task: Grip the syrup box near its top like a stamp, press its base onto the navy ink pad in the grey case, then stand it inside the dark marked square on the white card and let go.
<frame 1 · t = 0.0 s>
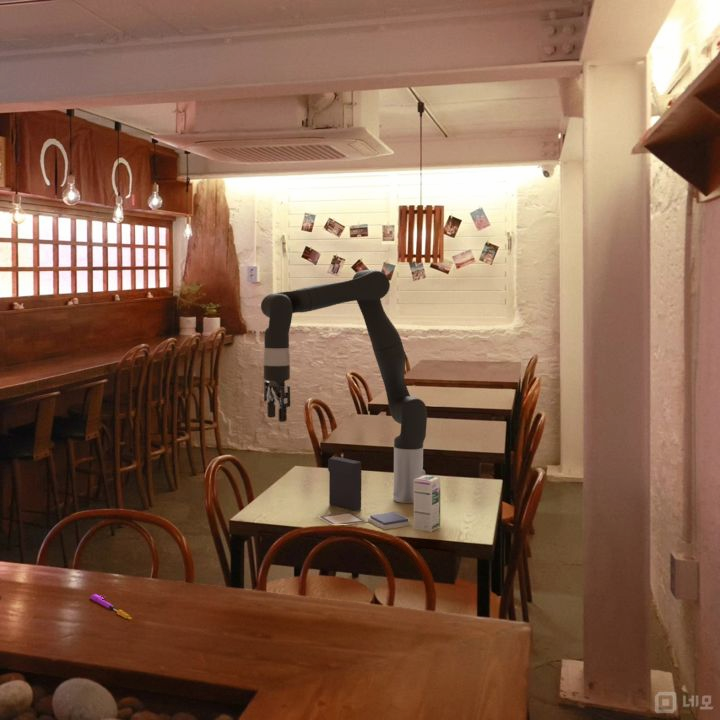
hand: (276, 419, 228), 29 cm above the table, tool pointing down, fingers open, 8 cm apart
ink pad: (389, 523, 226), on the table
syrup box: (426, 528, 222), on the table
marked card: (342, 519, 229), on the table
purple and yellow stick: (114, 610, 165), on the table
dark grey upright block: (345, 508, 242), on the table
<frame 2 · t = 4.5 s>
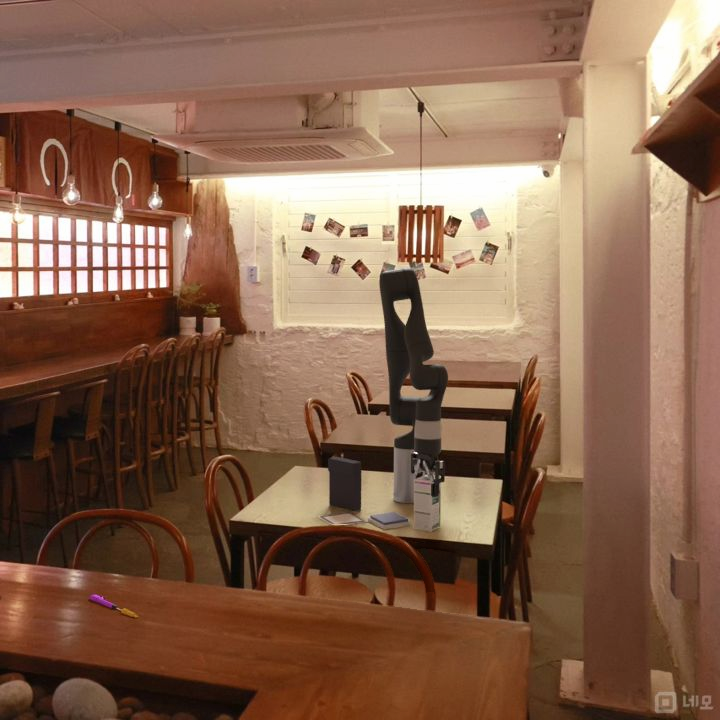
hand: (426, 493, 221), 10 cm above the table, tool pointing down, fingers closed on syrup box, 7 cm apart
syrup box: (426, 528, 222), on the table, touching gripper
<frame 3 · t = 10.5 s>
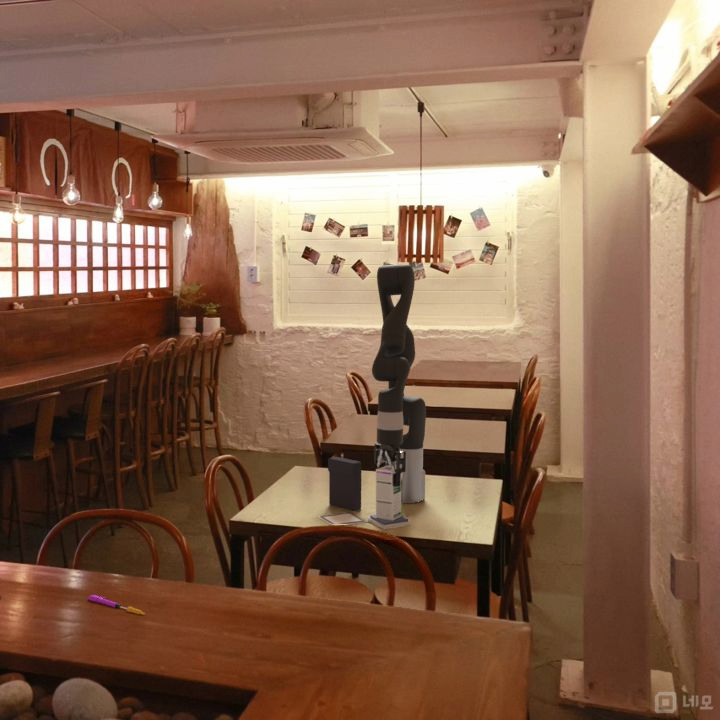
hand: (389, 483, 225), 12 cm above the table, tool pointing down, fingers closed on syrup box, 7 cm apart
syrup box: (389, 517, 226), point 1 cm above the table, touching gripper, ink pad
when the fingers open (12 cm above the table, at t = 16.7 s): syrup box drops 1 cm, resting on marked card.
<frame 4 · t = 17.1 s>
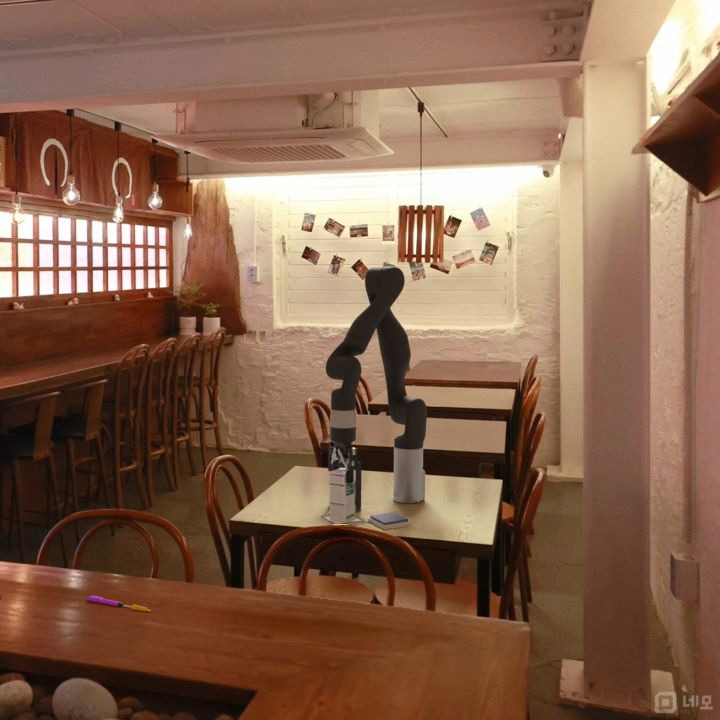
hand: (342, 479, 228), 12 cm above the table, tool pointing down, fingers open, 8 cm apart
syrup box: (342, 519, 229), resting on marked card
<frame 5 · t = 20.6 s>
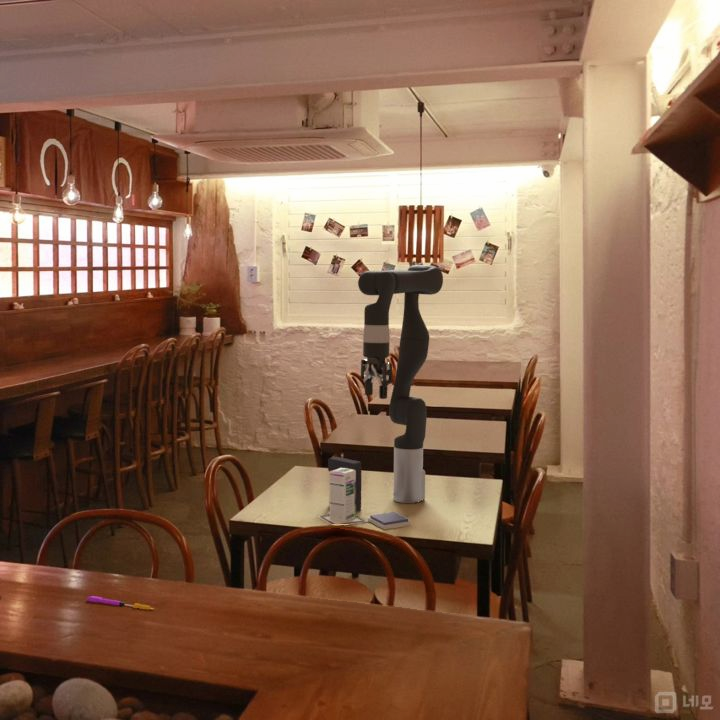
hand: (375, 396, 227), 36 cm above the table, tool pointing down, fingers open, 8 cm apart
at the end: syrup box 0.1 cm off-centre on the marked card, point 0.0 cm above the marked card's base; syrup box tilted 0°; the gripper is holding nothing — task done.
